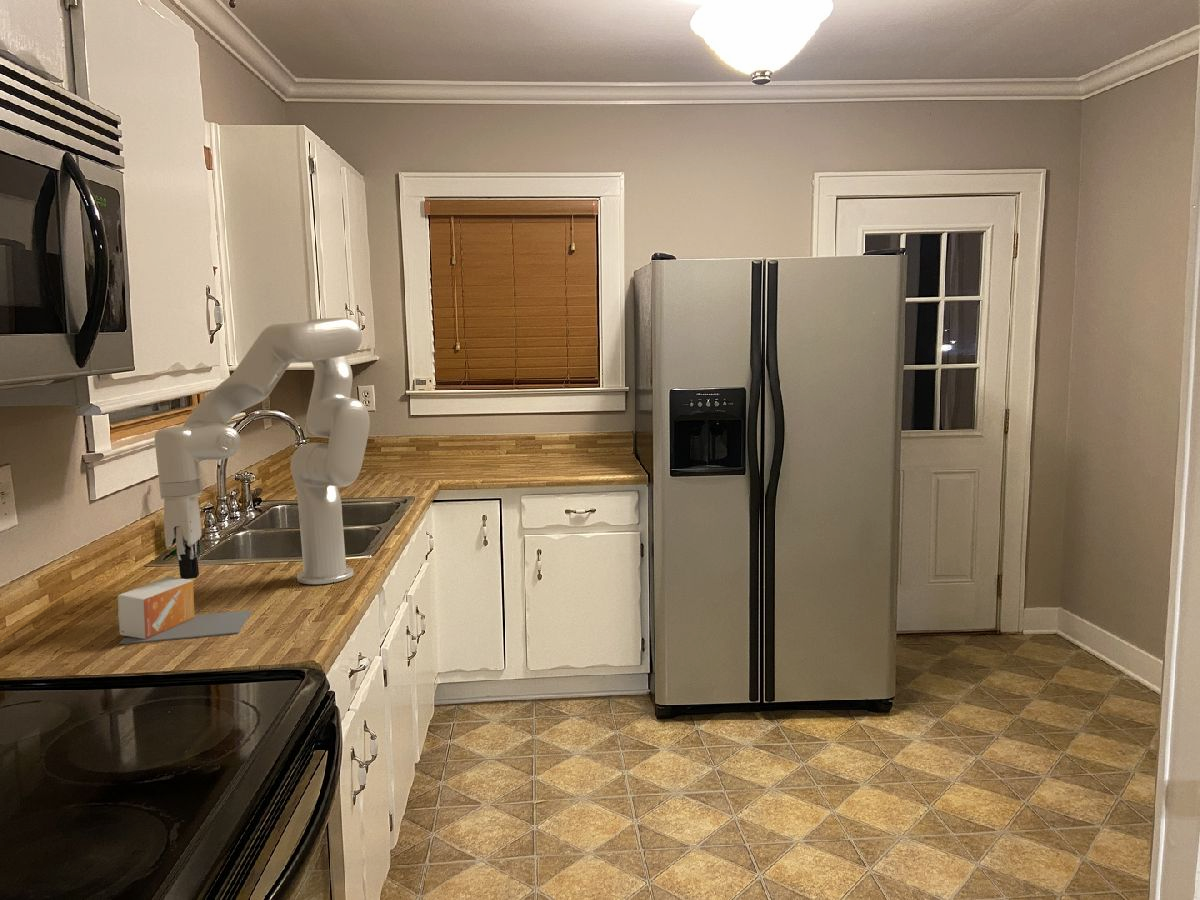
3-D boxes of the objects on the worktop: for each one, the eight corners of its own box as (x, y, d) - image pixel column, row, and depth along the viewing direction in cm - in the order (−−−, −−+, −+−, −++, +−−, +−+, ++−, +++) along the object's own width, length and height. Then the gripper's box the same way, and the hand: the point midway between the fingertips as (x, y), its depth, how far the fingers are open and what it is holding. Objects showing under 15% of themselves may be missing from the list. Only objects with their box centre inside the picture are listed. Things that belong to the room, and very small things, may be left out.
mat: (142, 621, 178) (141, 619, 178) (251, 611, 182) (251, 609, 182) (119, 644, 164) (118, 643, 164) (238, 633, 169) (238, 632, 168)
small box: (195, 617, 178) (145, 640, 166) (170, 613, 180) (118, 635, 168) (194, 579, 177) (143, 599, 165) (168, 575, 179) (116, 594, 166)
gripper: (170, 484, 184) (179, 569, 186) (149, 497, 169) (160, 589, 172) (209, 481, 185) (217, 566, 188) (191, 494, 171) (201, 586, 173)
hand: (189, 577), depth 180 cm, fingers closed
